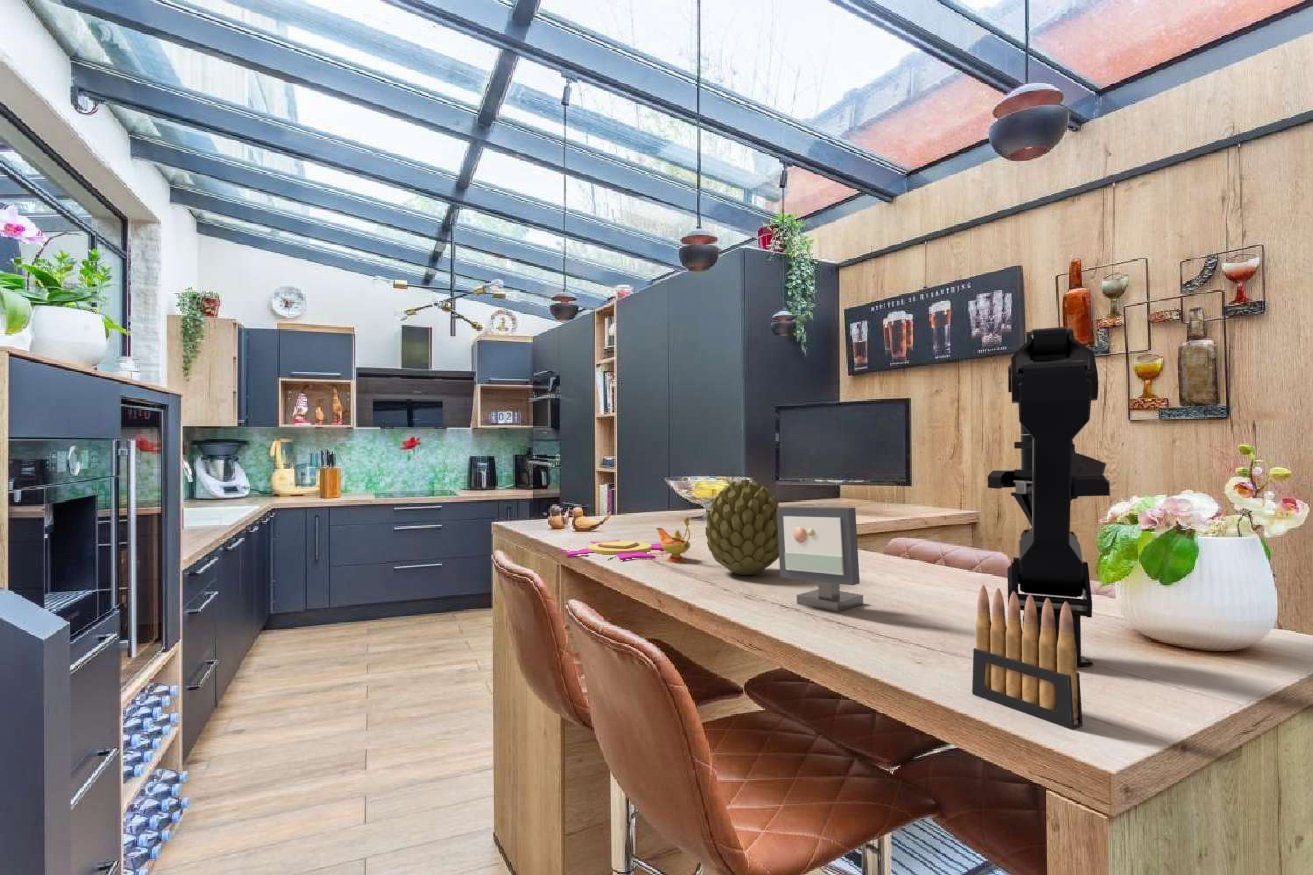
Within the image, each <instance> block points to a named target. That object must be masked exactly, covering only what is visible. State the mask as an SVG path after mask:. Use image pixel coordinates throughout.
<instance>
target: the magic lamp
mask: <svg viewBox="0 0 1313 875" xmlns="http://www.w3.org/2000/svg"><path fill="white" fill-rule="evenodd" d="M689 521H690V518H689V516H687V517H685V518H684V519H683V522H684V525H685V527H686V528H685V529H686V530H685V533H684V536H683V535H682V533H681V531H679V529H676V530H675V532H674V534H673V535H672V536H671V535H669V533H668V532H667V531H666V530H665V529H664V528H662V527H656V528H655V530H656V531H657V533H658V537H659V540H660V543H661V546H662V548H663V549H664V550H665V551H666V552H668V553H667V554H670V557H668V558H666V559H665V562H666V563H671V562H680V563H685V562H687V559H685V558H683V557H682V555H681V554H686V552H687V551H688V550H689V549H690V547H691V543H690V542H689V540H690V539H691V532H690V529H689V525H690V522H689ZM687 533H688V537H687V539H686V535H687ZM682 536H683V538H682ZM685 539H686V540H685Z"/></svg>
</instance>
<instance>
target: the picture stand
mask: <svg viewBox="0 0 1313 875" xmlns="http://www.w3.org/2000/svg"><path fill="white" fill-rule="evenodd" d="M817 583H818V588H817V589H814V590H809V591H807V592H803V593H799V594H796V605H800V606H801V605H802V606H806V607H811V608H816V609H819V610H820V609H821V610H826V611H831V612H835V613H838V612H842V611H844V610H848V609H851V608H854V607H857V606H860V605H863V604H864V594H859V593H854V592H853V593H852V592H850V591H849V592H848V591H841V589H840V588H841V587H840V585H841V584H835V583H826V582H817Z"/></svg>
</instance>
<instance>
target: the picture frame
mask: <svg viewBox="0 0 1313 875" xmlns="http://www.w3.org/2000/svg"><path fill="white" fill-rule="evenodd" d="M856 514H857V513H856V507H850V506H849V507H846V506H845V507H844V506H841V507H839V506H837V507H836V506H834V507H833V506H780V507H779V506H778V507H777V525H778V544H779V558H778V559H779V577H780V578H783V579H792V580H801V581H809V582H817V583H818V582H826V583H835V584H840V585H843V586H844V585H846V586H856V585H859V584H860V582H861V581H860V570H859V569H860V568H859V566H860V565H859V550H858V548H859V547H858V533H857V532H858V531H857V529H858V528H857V515H856Z"/></svg>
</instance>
